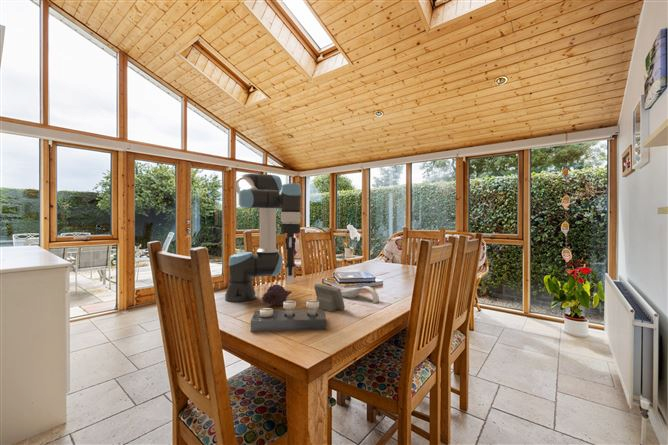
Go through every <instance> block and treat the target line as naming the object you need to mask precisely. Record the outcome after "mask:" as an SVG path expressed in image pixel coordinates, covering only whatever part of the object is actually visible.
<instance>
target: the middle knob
mask: <svg viewBox="0 0 668 445" xmlns="http://www.w3.org/2000/svg"><path fill="white" fill-rule="evenodd" d="M282 305H283V306H282V308H283V309H285V310H286V317H293V316H294V310H296V308H297V301H295V300H286V301H285V302H283V304H282Z"/></svg>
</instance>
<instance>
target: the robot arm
mask: <svg viewBox="0 0 668 445" xmlns="http://www.w3.org/2000/svg"><path fill="white" fill-rule="evenodd" d="M301 187H302V186H301V185H300V184H299V183H294V182H285V183H283V182H282V179H281V177H280V176H279V175H275V174H264V173H246V174H242V175H239V176H238V177H237V178H236V179H235V181H234V184H233V189H234V190H235V192H236V194H238V205H239V207H240V208H247V209H259V248H258V249H257V250H256V254H254V253H253V252H252V251H245V252H237V253H235V254H231V255H230V256H229V258H228V285H227V288H226V292H225V294H224V299H225V301H227V302H234V303H235V302H237V303H239V302H240V303H241V302H248V301H252V300H255V299H256V294H257V293H256V291H255V287H254V285H253V278H260V277H261V278H262V277H274V276H276V277H277V276H279V274H280V272H281V271H282V266H283V256H282V254H281V253H280V252H279V250H278V249H277V209H280V210H281V211H280V222H281V224H280V233H281V234H286V235H287V237H285V239H284V240H285V249H286V265H284V268H286V284H287V285H293V284H294V283H295V282H294V280H295V279H294V278H295V276H294V275H295V273H294V272H295V267H296V264H295V261H294V257H295V256H294V255H295V254H294V253H295V250H296V242H297V240H296V237H294V235H295V234H297V235H298V234H300V233H301V224H300V223H301V218H302V217H303V215H302V214H301V209H302V208H301V206H302V205H301V204H302V203H301V202H302V201H301V200H302V199H301V198H302V190H301Z"/></svg>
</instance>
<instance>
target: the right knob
mask: <svg viewBox="0 0 668 445" xmlns="http://www.w3.org/2000/svg"><path fill="white" fill-rule="evenodd" d="M305 303H306V304H305V305H306V308H307V309H308V310H309V316H316V310H317V309H320V308H319V301H316V299H313V300H310V299H309V300H307V301H306V302H305Z"/></svg>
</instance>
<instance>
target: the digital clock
mask: <svg viewBox="0 0 668 445" xmlns="http://www.w3.org/2000/svg"><path fill="white" fill-rule="evenodd" d="M313 287H314V292H315V294H316V299H315V300H316V301H319V308H318V309H319V310H324V311H326V312H327V311H328V312H333V311H336V310H340V311H344V310H345V309H346V307H345V303H344V302H345V300H344V298H343V297H344V296H342V293H341V289H342V288H339V287H335V286H332V285H331V286H330V285H326V284H323V283H322V284H320V283H315V284H314V286H313Z"/></svg>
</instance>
